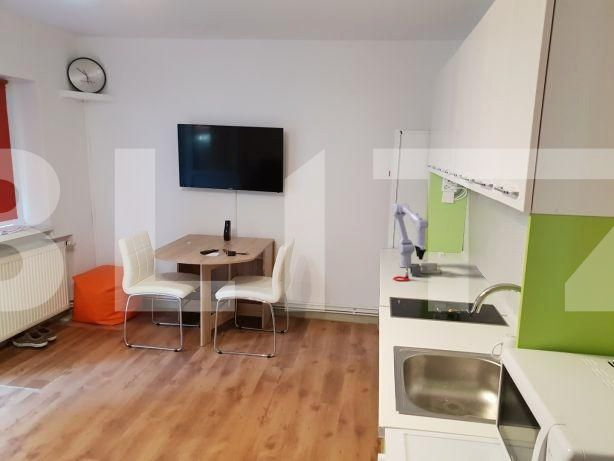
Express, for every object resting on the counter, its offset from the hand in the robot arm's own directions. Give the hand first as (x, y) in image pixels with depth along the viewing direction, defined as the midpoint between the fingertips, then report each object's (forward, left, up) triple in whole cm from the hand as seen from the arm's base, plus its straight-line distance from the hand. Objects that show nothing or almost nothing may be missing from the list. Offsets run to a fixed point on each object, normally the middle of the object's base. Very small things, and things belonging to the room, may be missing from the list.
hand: (419, 258), depth 284 cm
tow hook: (+19, -14, -10) cm, 25 cm away
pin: (+2, +6, -7) cm, 10 cm away
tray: (-2, +5, -9) cm, 11 cm away
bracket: (+7, -3, -9) cm, 12 cm away
